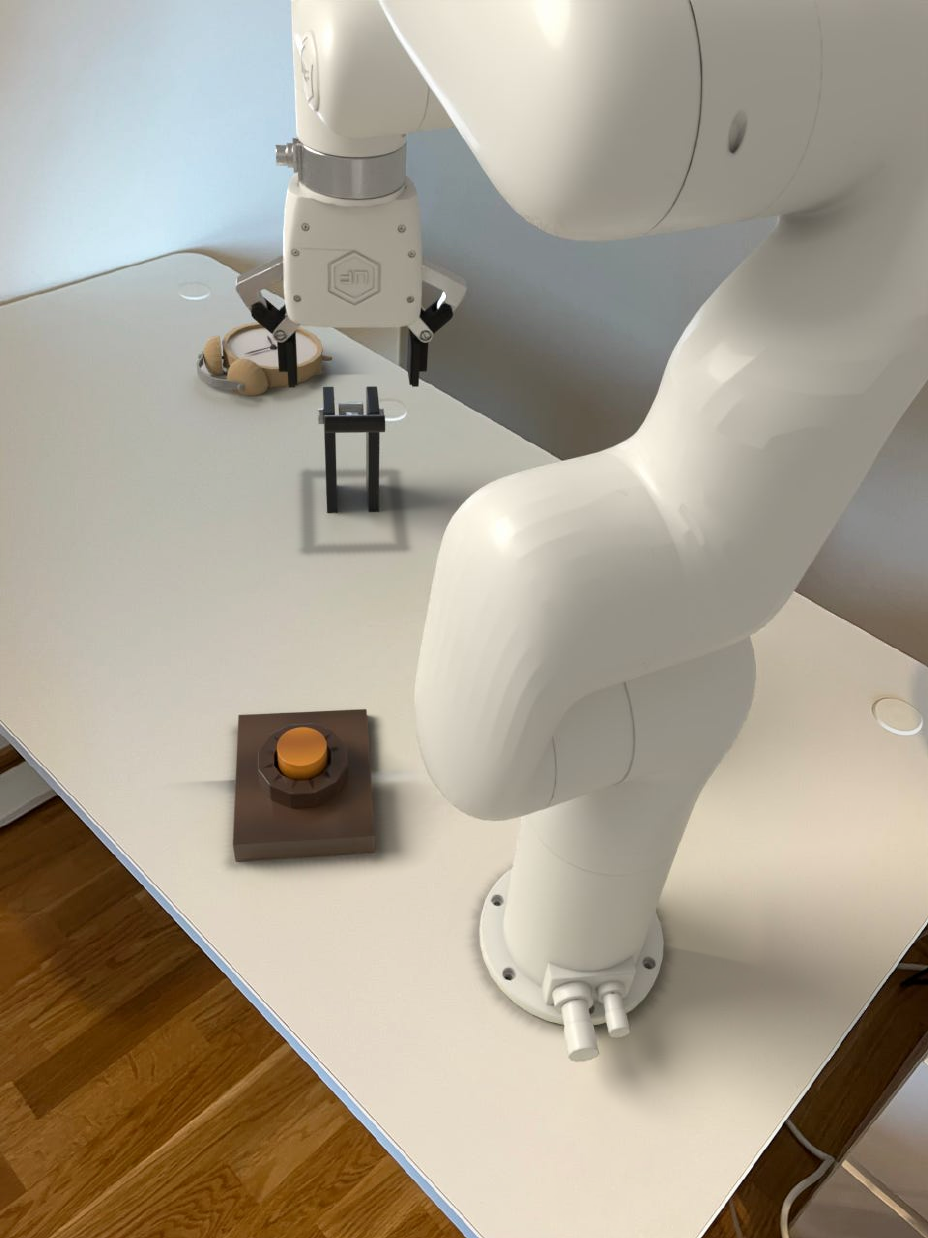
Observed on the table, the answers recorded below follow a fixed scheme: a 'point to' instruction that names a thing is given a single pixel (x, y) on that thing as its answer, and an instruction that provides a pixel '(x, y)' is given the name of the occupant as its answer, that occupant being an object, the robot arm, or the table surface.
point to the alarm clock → (257, 359)
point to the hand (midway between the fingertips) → (353, 377)
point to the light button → (302, 753)
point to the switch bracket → (371, 451)
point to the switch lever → (353, 420)
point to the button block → (303, 789)
